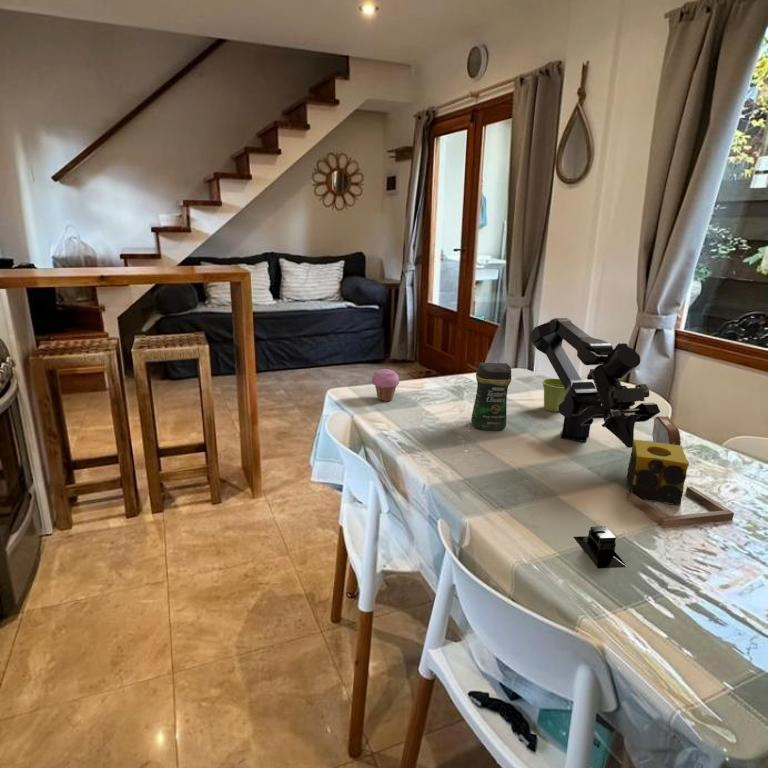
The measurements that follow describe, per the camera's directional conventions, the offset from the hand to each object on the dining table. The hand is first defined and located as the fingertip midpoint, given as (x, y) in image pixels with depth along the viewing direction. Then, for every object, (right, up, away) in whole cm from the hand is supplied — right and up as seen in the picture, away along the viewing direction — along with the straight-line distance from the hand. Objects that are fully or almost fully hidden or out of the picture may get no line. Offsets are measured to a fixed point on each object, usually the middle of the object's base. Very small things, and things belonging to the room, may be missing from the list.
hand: (630, 447), depth 124 cm
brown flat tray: (+3, -11, -13) cm, 18 cm away
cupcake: (-57, +10, +47) cm, 75 cm away
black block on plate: (-19, -16, -28) cm, 38 cm away
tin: (+15, -3, +15) cm, 21 cm away
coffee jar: (-28, +3, +28) cm, 39 cm away
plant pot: (-4, +7, +44) cm, 44 cm away
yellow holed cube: (+2, -9, -6) cm, 11 cm away
